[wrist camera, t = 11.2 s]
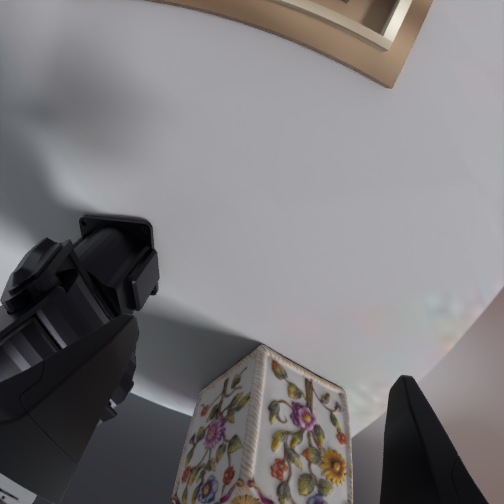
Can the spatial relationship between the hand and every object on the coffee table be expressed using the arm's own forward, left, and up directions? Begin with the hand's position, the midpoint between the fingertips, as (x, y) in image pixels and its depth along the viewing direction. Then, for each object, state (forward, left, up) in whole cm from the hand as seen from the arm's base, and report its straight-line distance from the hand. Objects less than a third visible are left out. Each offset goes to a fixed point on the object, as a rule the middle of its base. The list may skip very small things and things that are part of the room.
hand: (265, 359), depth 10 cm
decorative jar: (+2, -20, -13) cm, 24 cm away
